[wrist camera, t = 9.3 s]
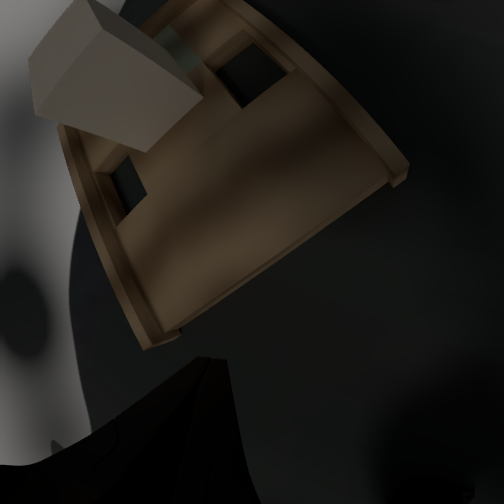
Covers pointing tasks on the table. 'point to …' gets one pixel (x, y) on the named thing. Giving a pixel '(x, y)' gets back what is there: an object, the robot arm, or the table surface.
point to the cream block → (108, 78)
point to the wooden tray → (225, 171)
